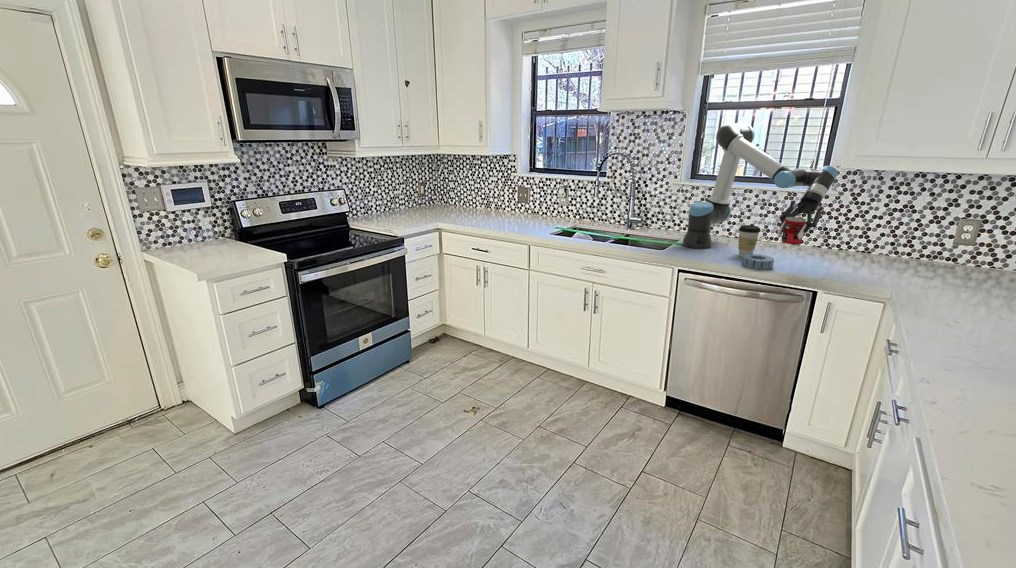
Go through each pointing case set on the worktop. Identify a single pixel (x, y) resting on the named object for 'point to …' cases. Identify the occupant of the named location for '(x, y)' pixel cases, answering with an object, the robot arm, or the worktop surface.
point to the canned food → (792, 230)
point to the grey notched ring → (757, 261)
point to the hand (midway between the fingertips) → (788, 235)
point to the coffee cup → (747, 239)
